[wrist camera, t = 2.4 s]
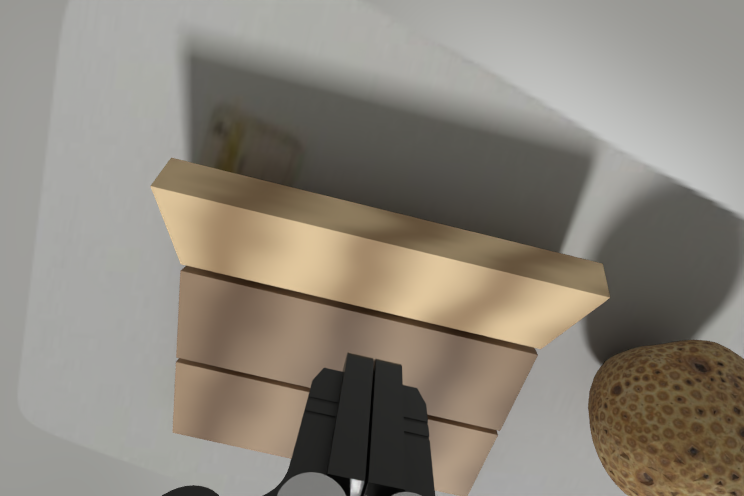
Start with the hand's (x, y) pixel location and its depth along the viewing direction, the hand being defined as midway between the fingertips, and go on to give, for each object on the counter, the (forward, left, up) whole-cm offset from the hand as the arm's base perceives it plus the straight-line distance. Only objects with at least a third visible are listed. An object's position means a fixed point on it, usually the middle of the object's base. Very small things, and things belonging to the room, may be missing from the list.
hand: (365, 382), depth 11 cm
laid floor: (0, +12, -14) cm, 18 cm away
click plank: (0, +1, -12) cm, 12 cm away
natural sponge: (-18, +5, -14) cm, 24 cm away
